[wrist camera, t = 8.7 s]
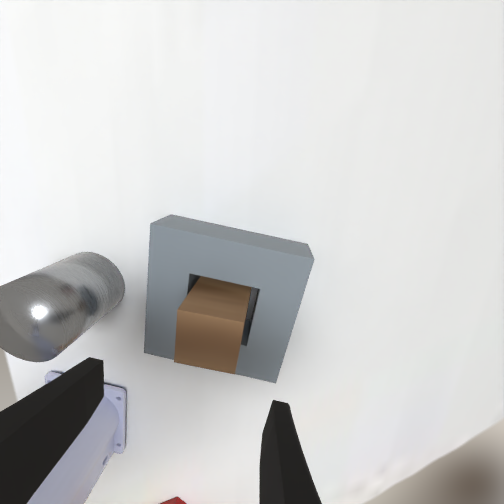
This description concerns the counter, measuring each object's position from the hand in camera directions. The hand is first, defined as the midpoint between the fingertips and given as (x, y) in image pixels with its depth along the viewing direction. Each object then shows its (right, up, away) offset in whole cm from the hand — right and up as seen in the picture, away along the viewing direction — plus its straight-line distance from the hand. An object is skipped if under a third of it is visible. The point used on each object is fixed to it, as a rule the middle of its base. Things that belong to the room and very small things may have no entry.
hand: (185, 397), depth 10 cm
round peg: (-10, +4, +10) cm, 15 cm away
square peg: (+1, +3, +9) cm, 9 cm away
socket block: (+1, +3, +9) cm, 9 cm away
